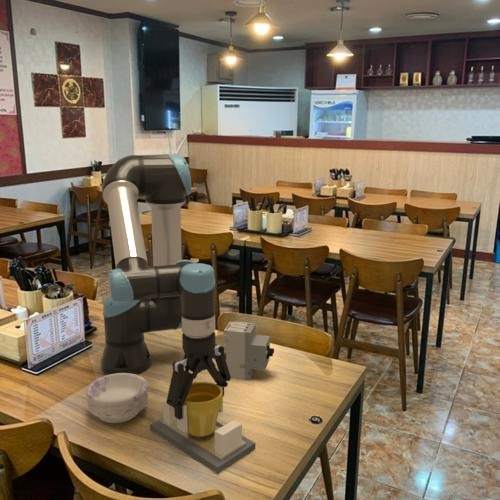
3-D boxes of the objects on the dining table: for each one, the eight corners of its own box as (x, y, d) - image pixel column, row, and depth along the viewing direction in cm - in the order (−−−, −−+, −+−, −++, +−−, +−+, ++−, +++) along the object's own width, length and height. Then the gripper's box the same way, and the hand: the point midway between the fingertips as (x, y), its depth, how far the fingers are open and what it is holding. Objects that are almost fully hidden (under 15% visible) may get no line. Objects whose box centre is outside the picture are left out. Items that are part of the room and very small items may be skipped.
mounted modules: (163, 419, 126) (162, 401, 125) (182, 409, 131) (181, 392, 130) (222, 455, 113) (222, 435, 111) (241, 443, 117) (241, 424, 116)
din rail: (159, 422, 126) (159, 420, 126) (184, 409, 132) (184, 407, 132) (221, 461, 112) (221, 458, 112) (246, 444, 117) (246, 442, 117)
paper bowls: (151, 424, 128) (150, 396, 126) (88, 434, 124) (85, 405, 122) (146, 395, 142) (144, 368, 140) (88, 403, 138) (86, 376, 136)
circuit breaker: (270, 382, 149) (271, 334, 146) (223, 377, 152) (223, 330, 149) (274, 370, 156) (275, 324, 153) (229, 366, 159) (229, 321, 156)
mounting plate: (150, 429, 126) (150, 424, 125) (187, 410, 134) (187, 405, 134) (217, 473, 110) (217, 467, 110) (255, 448, 118) (255, 442, 118)
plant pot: (196, 412, 129) (195, 376, 126) (231, 424, 123) (230, 387, 121) (170, 433, 120) (168, 395, 118) (206, 447, 115) (205, 407, 112)
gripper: (168, 353, 105) (172, 447, 110) (245, 322, 122) (245, 406, 127) (146, 342, 110) (151, 434, 115) (223, 314, 127) (224, 395, 132)
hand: (200, 419), depth 121 cm, fingers open, 10 cm apart
